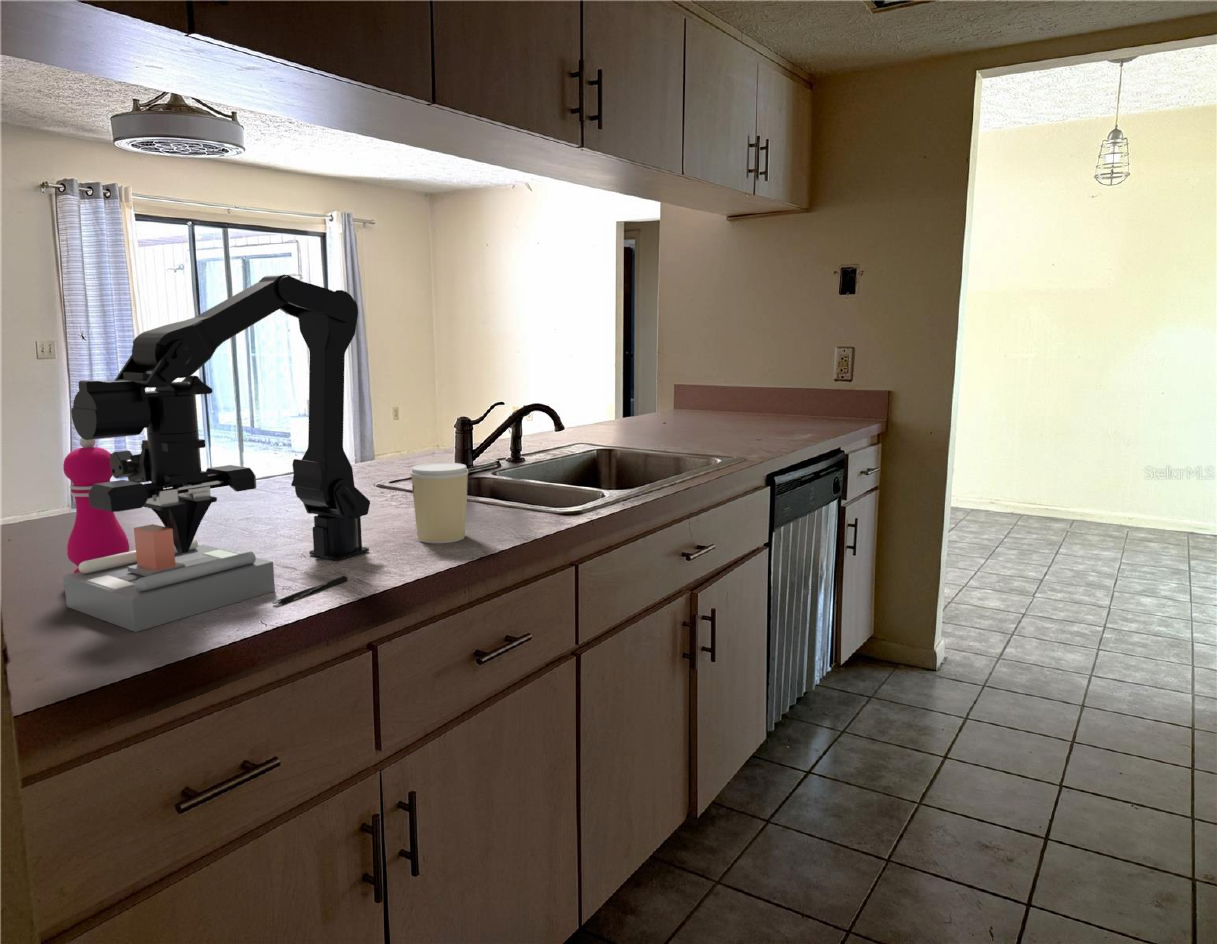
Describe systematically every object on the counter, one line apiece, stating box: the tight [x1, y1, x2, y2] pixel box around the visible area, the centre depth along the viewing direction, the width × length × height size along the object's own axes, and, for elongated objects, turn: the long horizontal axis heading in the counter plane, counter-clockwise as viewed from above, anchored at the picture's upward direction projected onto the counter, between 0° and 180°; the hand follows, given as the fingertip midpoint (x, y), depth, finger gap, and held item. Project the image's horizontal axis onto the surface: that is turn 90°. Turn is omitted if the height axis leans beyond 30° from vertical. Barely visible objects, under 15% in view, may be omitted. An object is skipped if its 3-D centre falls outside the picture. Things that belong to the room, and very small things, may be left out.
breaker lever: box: [127, 523, 185, 577], centre depth 102 cm, size 4×5×5 cm
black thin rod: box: [272, 575, 349, 608], centre depth 107 cm, size 12×1×1 cm, turn 154°
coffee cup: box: [409, 462, 469, 544], centre depth 135 cm, size 9×9×12 cm
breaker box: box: [63, 537, 276, 633], centre depth 104 cm, size 18×16×6 cm
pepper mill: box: [62, 438, 130, 573], centre depth 111 cm, size 7×7×20 cm
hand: (182, 552), depth 105 cm, fingers closed
